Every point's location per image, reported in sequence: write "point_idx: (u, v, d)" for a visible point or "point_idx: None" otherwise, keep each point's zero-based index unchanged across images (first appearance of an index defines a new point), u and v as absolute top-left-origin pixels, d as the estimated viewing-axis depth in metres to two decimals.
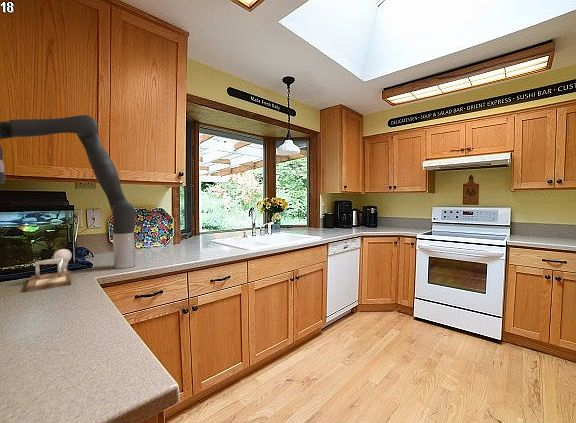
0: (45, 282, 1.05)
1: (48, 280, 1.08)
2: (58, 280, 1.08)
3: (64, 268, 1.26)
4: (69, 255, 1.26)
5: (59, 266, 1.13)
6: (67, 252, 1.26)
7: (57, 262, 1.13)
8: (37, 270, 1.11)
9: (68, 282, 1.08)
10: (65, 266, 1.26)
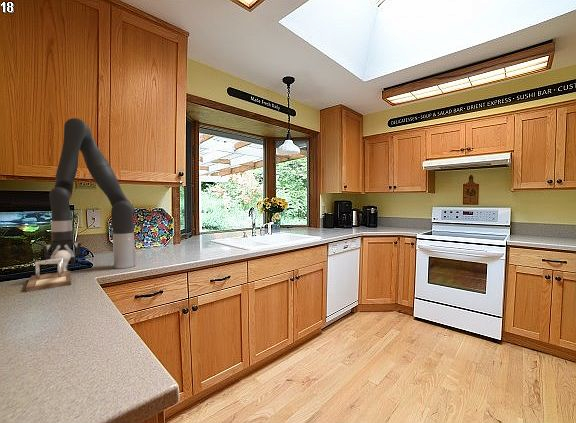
0: (45, 282, 1.05)
1: (48, 280, 1.08)
2: (58, 280, 1.08)
3: (64, 268, 1.26)
4: (69, 255, 1.26)
5: (59, 266, 1.13)
6: (67, 252, 1.26)
7: (57, 262, 1.13)
8: (37, 270, 1.11)
9: (68, 282, 1.08)
10: (65, 266, 1.26)
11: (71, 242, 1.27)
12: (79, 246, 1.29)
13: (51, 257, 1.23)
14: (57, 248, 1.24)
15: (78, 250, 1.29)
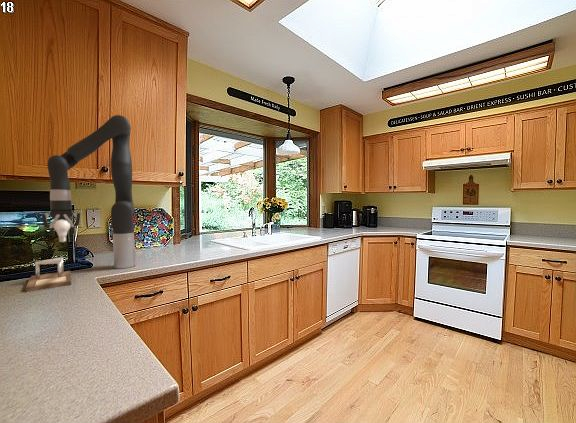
0: (45, 282, 1.05)
1: (48, 280, 1.08)
2: (58, 280, 1.08)
3: (63, 238, 1.25)
4: (68, 225, 1.26)
5: (59, 266, 1.13)
6: (66, 222, 1.25)
7: (57, 262, 1.13)
8: (37, 270, 1.11)
9: (68, 282, 1.08)
10: (64, 236, 1.26)
11: (70, 212, 1.27)
12: (78, 216, 1.28)
13: (50, 226, 1.22)
14: (56, 217, 1.23)
15: (77, 220, 1.28)
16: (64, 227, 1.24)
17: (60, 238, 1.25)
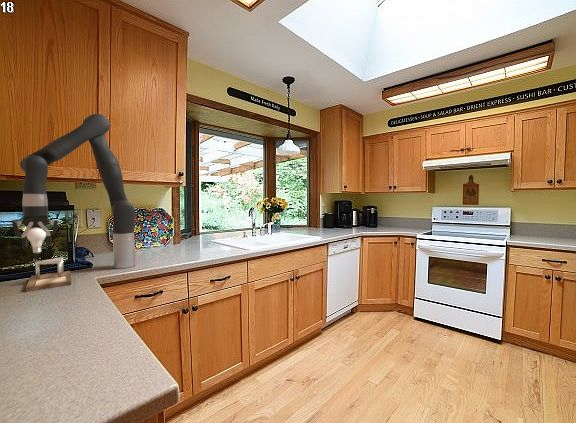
0: (45, 282, 1.05)
1: (48, 280, 1.08)
2: (58, 280, 1.08)
3: (38, 248, 1.11)
4: (43, 234, 1.11)
5: (59, 266, 1.13)
6: (41, 230, 1.11)
7: (57, 262, 1.13)
8: (37, 270, 1.11)
9: (68, 282, 1.08)
10: (39, 246, 1.11)
11: (46, 219, 1.12)
12: (56, 224, 1.14)
13: (22, 235, 1.08)
14: (29, 225, 1.09)
15: (54, 228, 1.14)
16: (38, 236, 1.10)
17: (34, 249, 1.10)
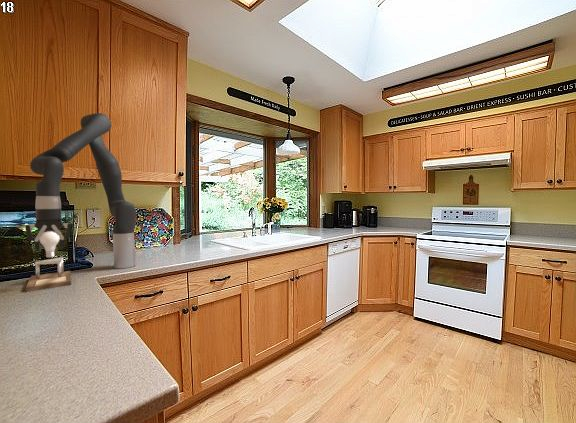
0: (45, 282, 1.05)
1: (48, 280, 1.08)
2: (58, 280, 1.08)
3: (51, 253, 1.07)
4: (57, 237, 1.07)
5: (59, 266, 1.13)
6: (55, 234, 1.07)
7: (57, 262, 1.13)
8: (37, 270, 1.11)
9: (68, 282, 1.08)
10: (52, 250, 1.07)
11: (60, 222, 1.08)
12: (69, 227, 1.10)
13: (35, 239, 1.04)
14: (43, 228, 1.04)
15: (68, 232, 1.10)
16: (52, 240, 1.05)
17: (47, 253, 1.06)
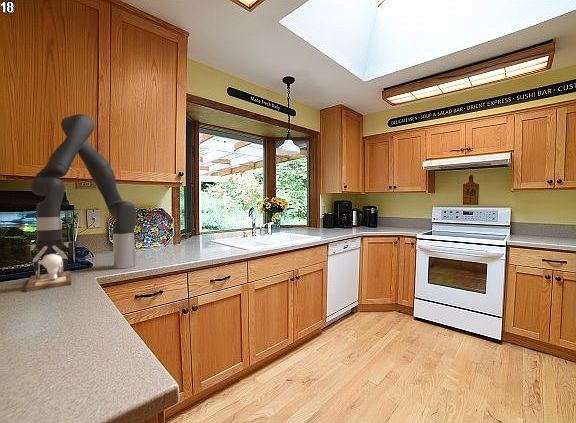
0: (45, 282, 1.05)
1: (48, 280, 1.08)
2: (58, 280, 1.08)
3: (54, 275, 1.08)
4: (60, 260, 1.08)
5: None
6: (57, 256, 1.07)
7: None
8: None
9: (68, 282, 1.08)
10: (55, 273, 1.08)
11: (60, 242, 1.08)
12: (70, 246, 1.10)
13: (34, 259, 1.04)
14: (43, 249, 1.05)
15: (70, 251, 1.10)
16: (55, 263, 1.06)
17: (50, 275, 1.07)
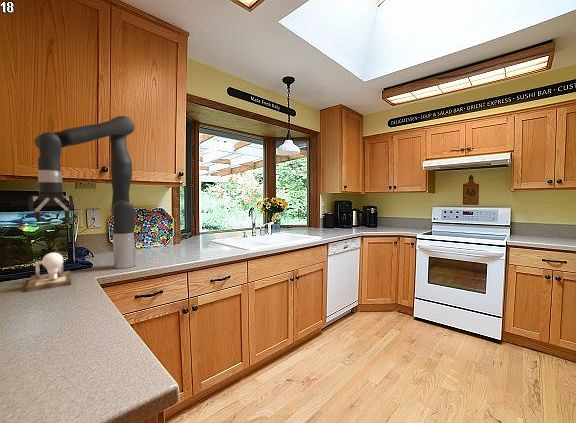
0: (45, 282, 1.05)
1: (48, 280, 1.08)
2: (58, 280, 1.08)
3: (54, 275, 1.08)
4: (60, 260, 1.08)
5: None
6: (58, 256, 1.07)
7: None
8: (37, 270, 1.11)
9: (68, 282, 1.08)
10: (55, 273, 1.08)
11: (61, 195, 1.15)
12: (71, 199, 1.17)
13: (36, 209, 1.10)
14: (45, 200, 1.11)
15: (71, 203, 1.17)
16: (55, 263, 1.06)
17: (50, 275, 1.07)
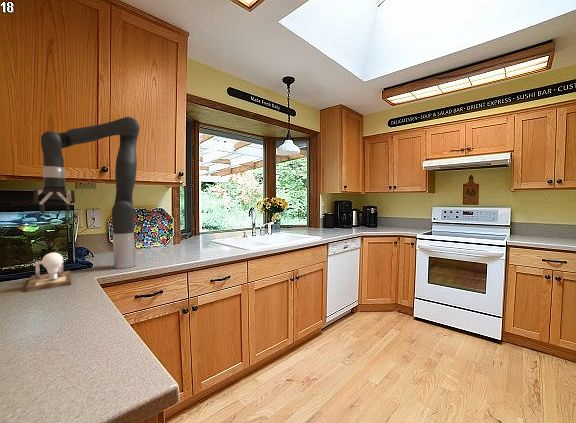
0: (45, 282, 1.05)
1: (48, 280, 1.08)
2: (58, 280, 1.08)
3: (54, 275, 1.08)
4: (60, 260, 1.08)
5: None
6: (57, 256, 1.07)
7: None
8: (37, 270, 1.11)
9: (68, 282, 1.08)
10: (55, 273, 1.08)
11: (63, 190, 1.24)
12: (73, 193, 1.26)
13: (40, 202, 1.19)
14: (49, 194, 1.20)
15: (73, 198, 1.26)
16: (55, 263, 1.06)
17: (50, 275, 1.07)
